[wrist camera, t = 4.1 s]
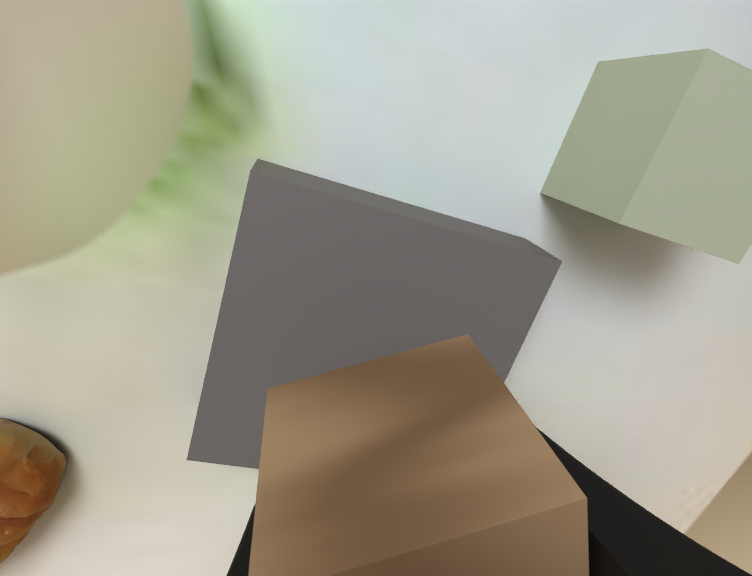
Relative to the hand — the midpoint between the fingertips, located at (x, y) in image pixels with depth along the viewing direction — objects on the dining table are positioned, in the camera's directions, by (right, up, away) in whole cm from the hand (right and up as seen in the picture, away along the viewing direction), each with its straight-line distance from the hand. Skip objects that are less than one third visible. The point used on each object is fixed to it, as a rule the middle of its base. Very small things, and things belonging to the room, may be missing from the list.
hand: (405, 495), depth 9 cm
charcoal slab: (-1, +3, +8) cm, 9 cm away
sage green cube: (+8, +9, +7) cm, 14 cm away
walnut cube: (0, +1, +1) cm, 2 cm away
